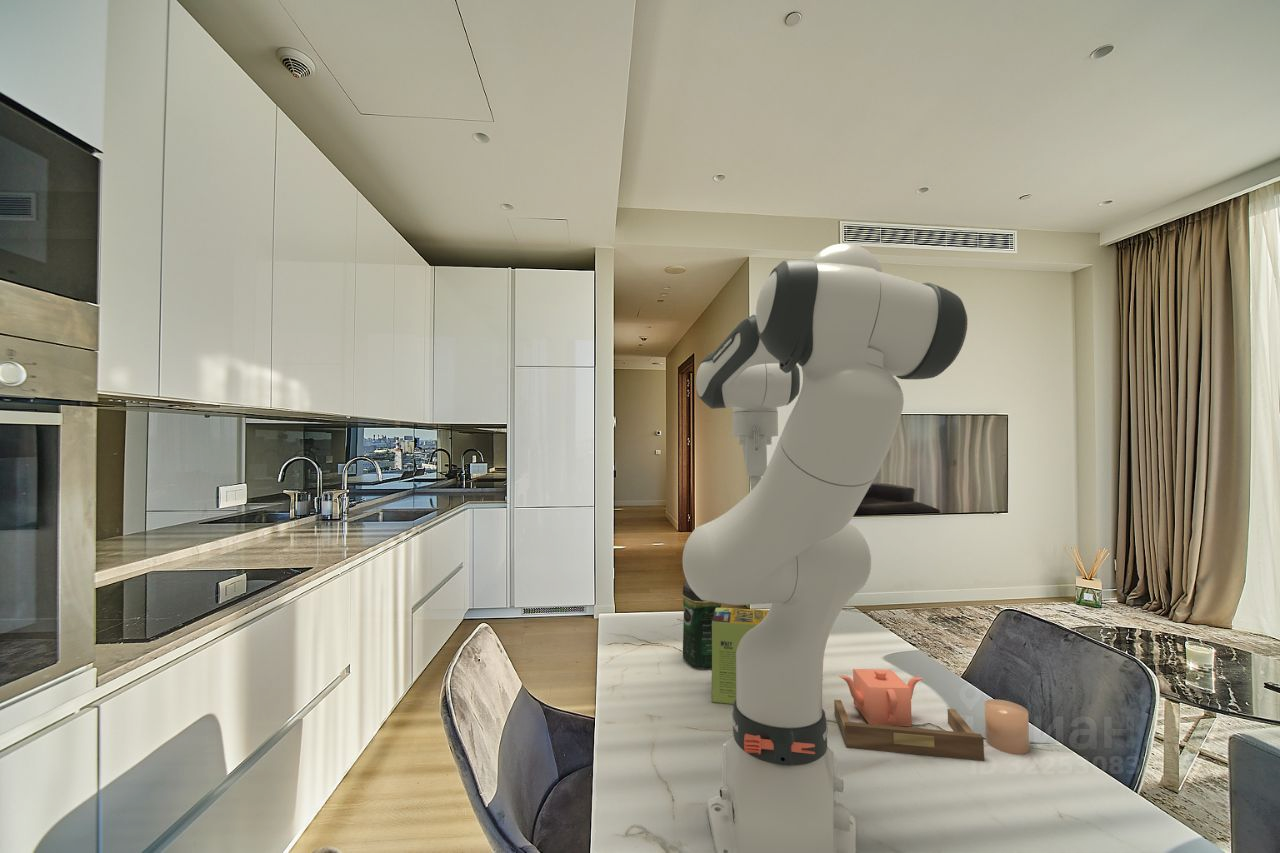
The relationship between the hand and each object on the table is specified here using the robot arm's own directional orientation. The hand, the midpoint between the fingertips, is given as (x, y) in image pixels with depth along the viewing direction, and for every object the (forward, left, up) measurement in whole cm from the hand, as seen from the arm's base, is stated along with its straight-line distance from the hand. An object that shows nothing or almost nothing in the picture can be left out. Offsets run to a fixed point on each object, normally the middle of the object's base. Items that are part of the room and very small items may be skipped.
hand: (755, 497), depth 107 cm
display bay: (-8, -24, -39) cm, 47 cm away
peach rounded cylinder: (-8, -40, -39) cm, 57 cm away
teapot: (-2, -22, -39) cm, 45 cm away
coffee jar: (+18, +12, -39) cm, 45 cm away
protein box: (+3, +1, -39) cm, 40 cm away
